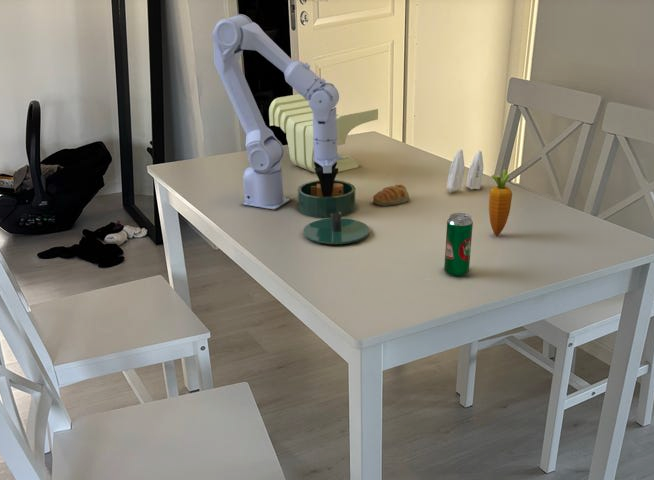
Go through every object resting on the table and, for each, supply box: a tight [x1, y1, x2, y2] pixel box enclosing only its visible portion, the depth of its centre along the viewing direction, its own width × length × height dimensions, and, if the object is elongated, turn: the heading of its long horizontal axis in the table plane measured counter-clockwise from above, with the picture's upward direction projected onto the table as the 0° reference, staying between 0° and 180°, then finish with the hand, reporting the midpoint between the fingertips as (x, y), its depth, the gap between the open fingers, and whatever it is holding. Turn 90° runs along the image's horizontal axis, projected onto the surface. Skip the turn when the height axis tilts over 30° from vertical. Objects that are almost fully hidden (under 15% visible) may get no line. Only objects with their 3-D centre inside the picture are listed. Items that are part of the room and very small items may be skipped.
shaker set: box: [446, 149, 484, 193], centre depth 194 cm, size 12×4×11 cm, turn 122°
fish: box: [311, 183, 343, 197], centre depth 184 cm, size 8×4×4 cm, turn 95°
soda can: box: [443, 212, 474, 277], centre depth 149 cm, size 5×5×12 cm
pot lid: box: [302, 211, 370, 245], centre depth 170 cm, size 15×15×5 cm
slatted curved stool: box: [268, 93, 379, 174], centre depth 212 cm, size 30×16×18 cm, turn 39°
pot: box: [297, 179, 357, 219], centre depth 185 cm, size 14×14×5 cm
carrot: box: [488, 169, 513, 237], centre depth 165 cm, size 5×5×15 cm
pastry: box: [372, 184, 410, 207], centre depth 189 cm, size 9×7×4 cm
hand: (326, 193), depth 184 cm, fingers closed on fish, 3 cm apart
